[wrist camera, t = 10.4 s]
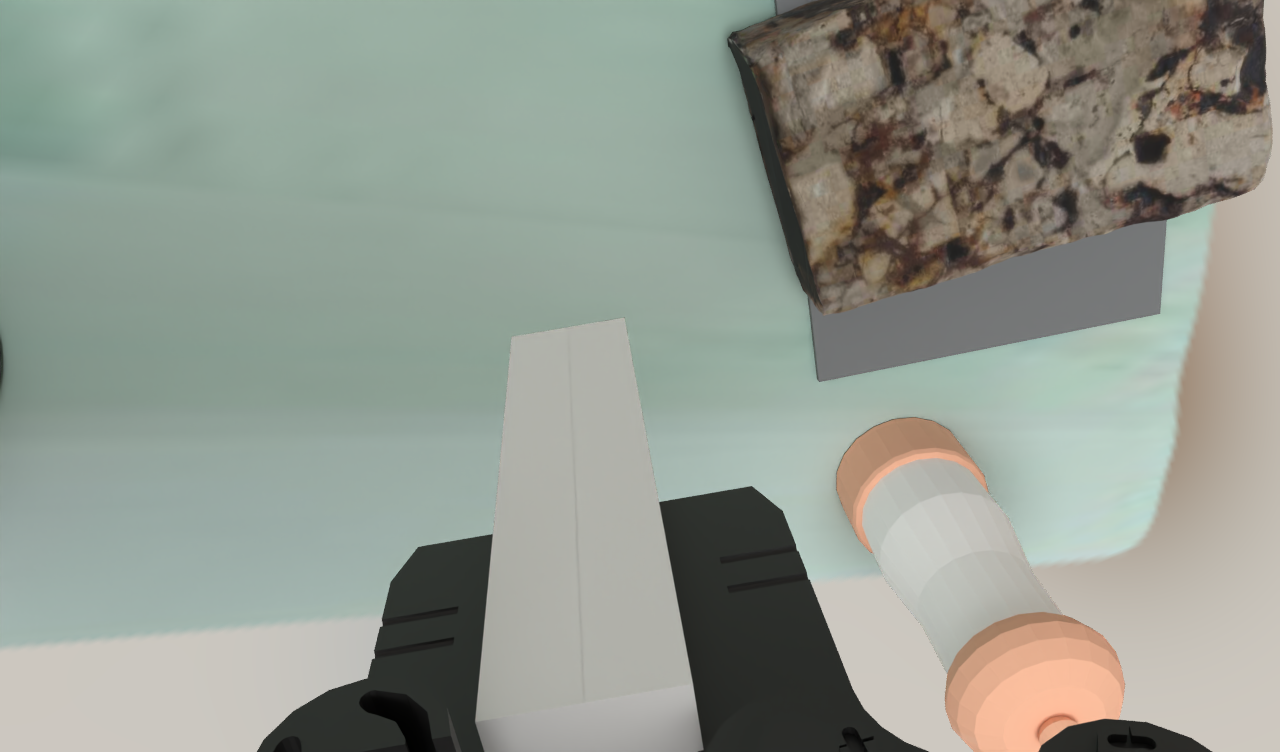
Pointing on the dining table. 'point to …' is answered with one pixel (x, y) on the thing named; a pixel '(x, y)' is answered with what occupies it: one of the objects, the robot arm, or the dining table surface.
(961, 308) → the mat
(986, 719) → the salt shaker
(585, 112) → the dining table surface
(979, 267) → the stone block
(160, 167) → the dining table surface
